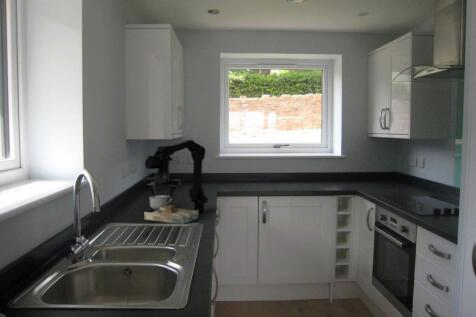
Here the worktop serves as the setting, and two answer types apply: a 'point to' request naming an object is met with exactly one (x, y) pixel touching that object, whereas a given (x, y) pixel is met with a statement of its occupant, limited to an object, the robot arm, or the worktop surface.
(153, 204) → the teacup
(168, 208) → the walnut block
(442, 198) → the worktop surface
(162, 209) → the track
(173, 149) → the robot arm
